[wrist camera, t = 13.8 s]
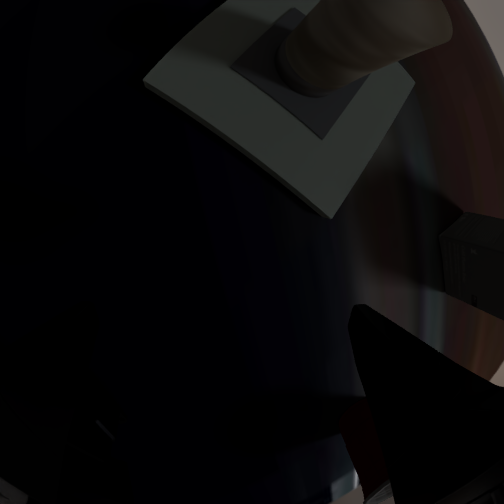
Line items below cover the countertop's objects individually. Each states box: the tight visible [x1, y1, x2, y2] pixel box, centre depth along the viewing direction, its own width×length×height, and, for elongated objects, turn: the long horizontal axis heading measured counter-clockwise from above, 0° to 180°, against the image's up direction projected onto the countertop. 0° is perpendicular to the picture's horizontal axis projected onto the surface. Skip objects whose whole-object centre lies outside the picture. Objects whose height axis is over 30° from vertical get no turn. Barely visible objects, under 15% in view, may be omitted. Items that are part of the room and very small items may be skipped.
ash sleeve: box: [274, 0, 452, 98], centre depth 11 cm, size 5×5×11 cm
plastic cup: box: [338, 398, 393, 504], centre depth 23 cm, size 11×11×12 cm
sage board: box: [143, 0, 415, 219], centre depth 17 cm, size 16×16×2 cm
